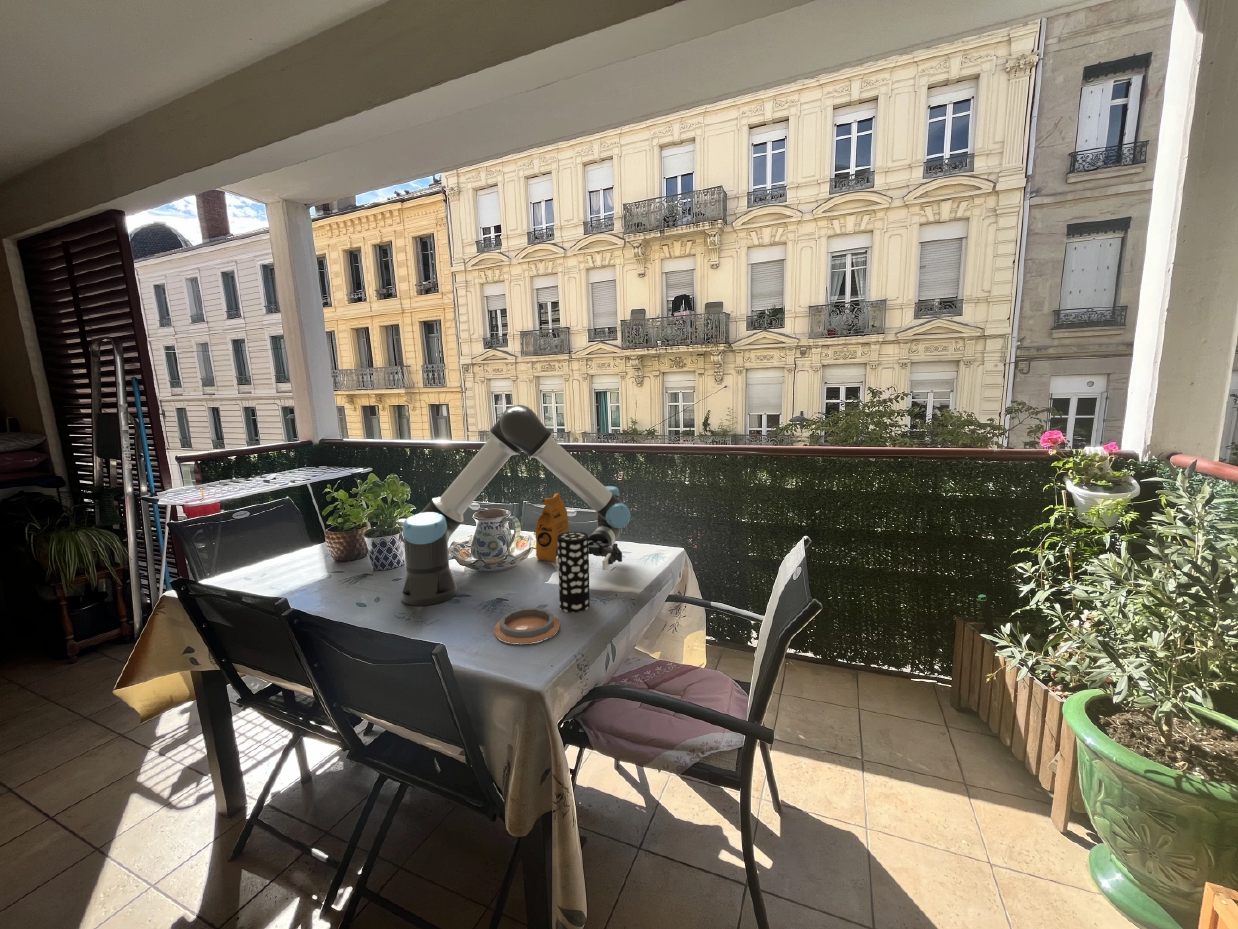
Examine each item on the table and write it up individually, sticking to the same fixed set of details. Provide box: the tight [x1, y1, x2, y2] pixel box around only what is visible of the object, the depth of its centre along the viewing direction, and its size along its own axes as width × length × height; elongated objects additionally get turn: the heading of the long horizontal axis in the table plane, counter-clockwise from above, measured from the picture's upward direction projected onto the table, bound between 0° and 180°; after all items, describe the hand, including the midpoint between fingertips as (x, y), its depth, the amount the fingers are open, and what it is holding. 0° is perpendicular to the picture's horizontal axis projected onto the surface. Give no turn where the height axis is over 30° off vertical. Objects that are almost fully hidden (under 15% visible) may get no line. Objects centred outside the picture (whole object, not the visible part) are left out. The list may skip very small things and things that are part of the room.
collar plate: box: [494, 607, 561, 644], centre depth 127 cm, size 16×16×3 cm
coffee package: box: [534, 492, 570, 563], centre depth 180 cm, size 10×12×22 cm
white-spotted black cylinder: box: [557, 531, 591, 614], centre depth 139 cm, size 8×8×20 cm
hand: (580, 563), depth 142 cm, fingers open, 13 cm apart
